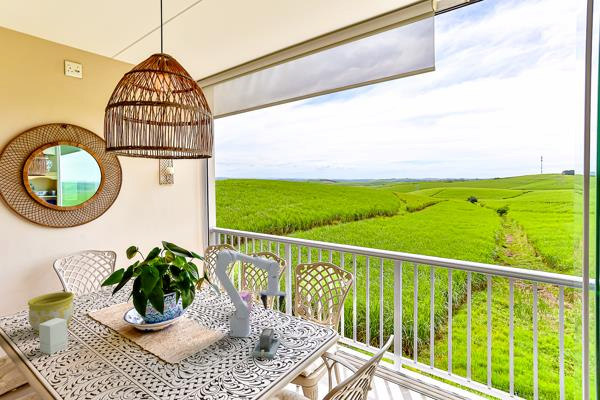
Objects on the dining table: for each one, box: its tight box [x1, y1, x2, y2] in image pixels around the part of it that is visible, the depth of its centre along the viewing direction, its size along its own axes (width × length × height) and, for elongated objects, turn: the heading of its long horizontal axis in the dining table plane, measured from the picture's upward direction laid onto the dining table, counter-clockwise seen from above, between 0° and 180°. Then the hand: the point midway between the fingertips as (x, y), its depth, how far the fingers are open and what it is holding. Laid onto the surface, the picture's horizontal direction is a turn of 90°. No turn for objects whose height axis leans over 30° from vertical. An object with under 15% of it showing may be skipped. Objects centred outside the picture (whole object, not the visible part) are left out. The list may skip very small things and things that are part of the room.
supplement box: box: [38, 318, 69, 355], centre depth 132 cm, size 7×7×13 cm
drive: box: [259, 327, 275, 352], centre depth 133 cm, size 4×8×7 cm, turn 171°
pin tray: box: [251, 337, 281, 360], centre depth 133 cm, size 10×15×4 cm, turn 171°
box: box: [235, 289, 252, 314], centre depth 172 cm, size 10×6×12 cm, turn 168°
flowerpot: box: [27, 291, 75, 335], centre depth 150 cm, size 18×18×16 cm
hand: (272, 309), depth 152 cm, fingers open, 7 cm apart
